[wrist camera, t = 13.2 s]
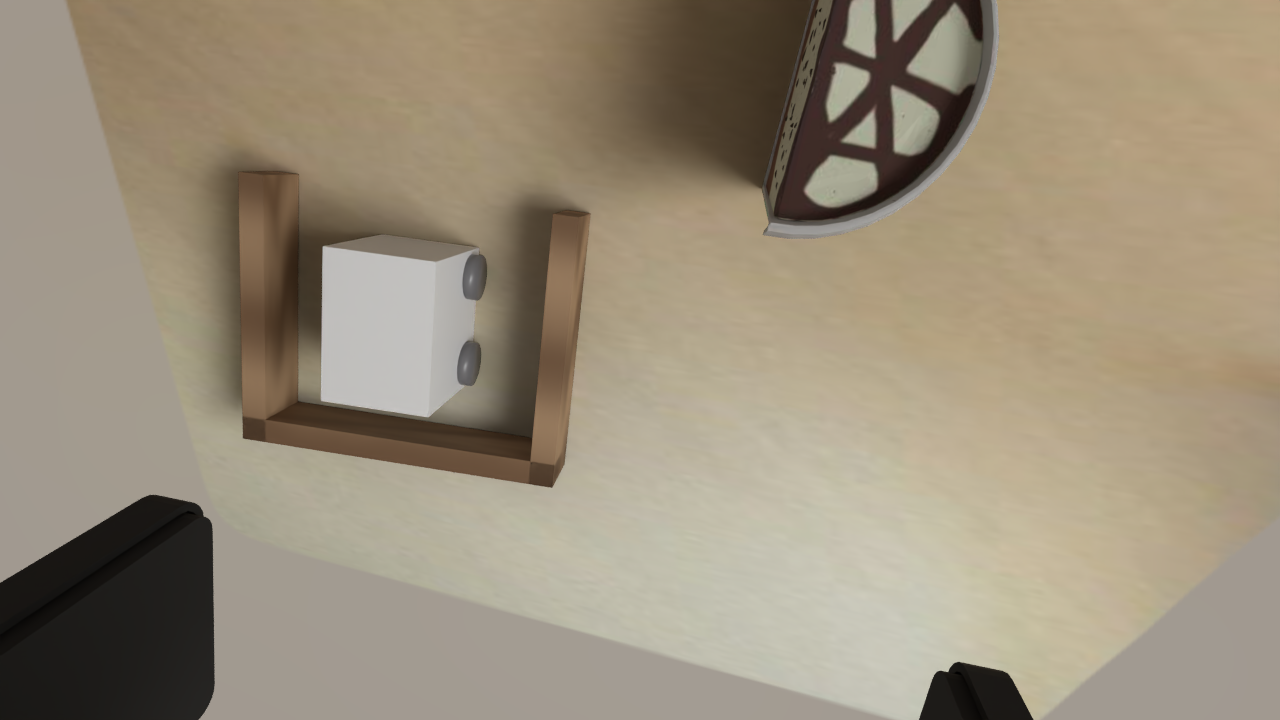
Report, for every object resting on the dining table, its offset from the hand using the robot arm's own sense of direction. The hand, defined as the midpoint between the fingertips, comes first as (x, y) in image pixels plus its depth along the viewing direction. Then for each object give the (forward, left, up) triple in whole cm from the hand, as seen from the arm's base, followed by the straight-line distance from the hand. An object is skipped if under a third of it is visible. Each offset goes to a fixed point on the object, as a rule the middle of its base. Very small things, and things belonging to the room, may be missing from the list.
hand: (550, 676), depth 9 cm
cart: (+2, -13, -29) cm, 31 cm away
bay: (+2, -13, -28) cm, 31 cm away
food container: (-10, +7, -29) cm, 31 cm away
